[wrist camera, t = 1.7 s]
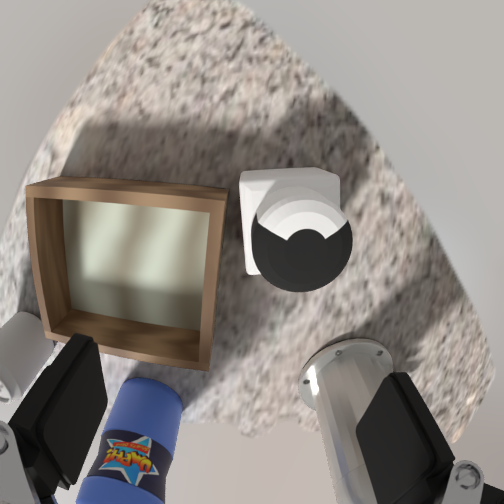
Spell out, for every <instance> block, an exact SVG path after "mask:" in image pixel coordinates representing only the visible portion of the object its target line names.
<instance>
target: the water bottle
mask: <svg viewBox="0 0 504 504" xmlns="http://www.w3.org/2000/svg"><path fill="white" fill-rule="evenodd" d="M182 409H183V404H182V401H181V399H180V397H179V396H178V395H177V393H176V392H175V391H174V390H172V389H171V388H170V387H168V386H167V385H165V384H163V383H161V382H158V381H156V380H153V379H148V378H133V379H129V380H127V381H125V382H124V383H123V384H122V386H121V388H120V391H119V393H118V395H117V398H116V400H115V402H114V405H113V407H112V410H111V412H110V414H109V417H108V419H107V422H106V425H105V427H104V430H103V432H102V435H101V442H100V447H99V452H98V456H97V458H96V460H95V461H94V463H93V465H92V467H91V469H90V471H89V473H88V475H87V477H85V478H84V479H83V482H82V484H81V487H80V490H79V493H78V496H77V499H76V504H165V484H166V483H165V482H166V476H167V473H168V470H169V468H170V465H171V462H172V460H173V455H174V451H175V446H176V441H177V435H178V429H179V425H180V419H181V414H182Z"/></svg>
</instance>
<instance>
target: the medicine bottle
mask: <svg viewBox="0 0 504 504" xmlns="http://www.w3.org/2000/svg"><path fill="white" fill-rule="evenodd" d="M239 191H240V203H241V216H242V228H243V240H244V252H245V263H246V271H247V273H248V274H249V275H258V274H261V275H262V276H263V277H264V278H265V279H266V280H267V281H268V282H270V283H271V284H273V285H274V286H276V287H278V288H280V289H283V290H286V291H291V292H308V291H313V290H316V289H319V288H321V287H323V286H325V285H327V284H329V283H330V282H331V281H333V280H334V279H335V278H336V277H337V276H338V275H339V274H340V273H341V272H342V271H343V269H344V267H345V266H346V264H347V262H348V260H349V258H350V254H351V251H352V242H353V238H352V231H351V227H350V224H349V222H348V219H347V218H346V216H345V214H344V213H343V212H342V211H341V210H340V178H339V176H338V175H336V174H333V173H330V172H328V171H325V170H322V169H319V168H316V167H306V168H283V169H266V170H251V171H243V172H242V173H241V175H240V181H239Z"/></svg>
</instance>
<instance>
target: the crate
mask: <svg viewBox="0 0 504 504" xmlns="http://www.w3.org/2000/svg"><path fill="white" fill-rule="evenodd" d="M228 194H229V189H224V188H215V187H206V186H197V185H187V184H176V183H165V182H153V181H140V180H125V179H109V178H90V177H65V176H59V177H55V178H51V179H48V180H44V181H41V182H37V183H34V184H30V185H27V186H26V214H27V228H28V240H29V249H30V257H31V265H32V272H33V278H34V284H35V290H36V295H37V301H38V306H39V310H40V315H41V319H42V324H43V328H44V332H45V336H46V338H48V339H51V340H55V341H58V342H62V343H65V344H66V343H67V342H68V341H69V339H70V338H71V337H72V336H73V334H74V333H80V334H83V335H87V336H91V337H92V338H93V340H94V342H96V343H97V344H98V347H99V352H101V353H105V354H110V355H114V356H119V357H124V358H129V359H134V360H139V361H144V362H150V363H155V364H161V365H167V366H174V367H180V368H187V369H194V370H202V371H209V366H210V359H211V352H212V345H213V338H214V328H215V317H216V306H217V296H218V285H219V275H220V266H221V256H222V247H223V237H224V228H225V220H226V211H227V203H228Z"/></svg>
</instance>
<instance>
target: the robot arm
mask: <svg viewBox="0 0 504 504" xmlns="http://www.w3.org/2000/svg"><path fill="white" fill-rule="evenodd" d="M298 390H299V394H300V398H301V400H302V401H303V402H304V404H305V405H307V406H308V407H309V408H311V409H313V410H315V411H316V413H317V417H318V421H319V425H320V430H321V434H322V438H323V443H324V447H325V451H326V456H327V460H328V464H329V469H330V473H331V478H332V483H333V487H334V491H335V496H336V500H337V503H338V504H504V491H503V490H500V489H498V488H495V487H493V486H490V485H488V484H485V483H484V475H483V472H482V470H481V469H480V467H479V466H478V465H477V464H475V463H473V462H472V461H467V460H463V461H460V462H457V463H456V464H455V465H454V464H453V461H454V460H455V457H454V455H453V453H452V451H451V449H450V447H449V445H448V443H447V442H446V440H445V438H444V436H443V434H442V432H441V431H440V429H439V427H438V425H437V423H436V421H435V420H434V418H433V416H432V414H431V413H430V411H429V409H428V407H427V406H426V404H425V402H424V400H423V399H422V397H421V395H420V393H419V392H418V390H417V388H416V387H415V385H414V383H413V382H412V380H411V377H410V376H409V375H408V374H407V373H406V372H393V360H392V357H391V355H390V353H389V352H388V350H387V349H386V348H385V347H384V346H383V345H382V344H381V343H378V342H376V341H374V340H370V339H358V338H357V339H349V340H345V341H341V342H338V343H336V344H333V345H331V346H329V347H327V348H325V349H323V350H322V351H320V352H319V353H317V354H316V355H315V356H314V357H312V358H311V359H310V361H309V362H308V363H307V364H306V365H305V367H304V368H303V370H302V371H301V374H300V376H299V379H298ZM107 403H108V399H107V394H106V389H105V383H104V378H103V372H102V367H101V360H100V354H99V347H98V344H97V343H96V342H94V340H93V338H92V337H91V336H87V335H83V334H80V333H74V334H73V336H72V337H71V338H70V339H69V341H68V342H67V343H66V345H65V346H64V347H63V349H62V350H61V352H60V353H59V354H58V356H57V357H56V358H55V360H54V361H53V363H52V364H51V365H49V366H47V367H46V368H45V369H44V370H43V372H42V373H41V375H40V376H39V378H38V379H37V380H36V382H35V383H34V385H33V386H32V388H31V389H30V391H29V392H28V393H27V395H26V396H25V398H24V399H23V401H22V402H21V404H20V406H19V407H18V408H17V410H16V412H15V413H14V415H13V416H12V418H11V419H10V421H9V423H8V424H6V423H5V422H3V421H0V504H58V503H57V501H56V499H55V496H54V494H55V491H56V488H57V486H59V487H61V488H64V489H66V490H69V488H70V485H71V484H72V485H74V484H76V482H77V479H78V477H79V475H80V472H81V469H82V466H83V464H84V461H85V459H86V456H87V454H88V451H89V449H90V446H91V444H92V441H93V439H94V436H95V434H96V432H97V429H98V427H99V424H100V422H101V420H102V417H103V415H104V413H105V410H106V408H107Z"/></svg>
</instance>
